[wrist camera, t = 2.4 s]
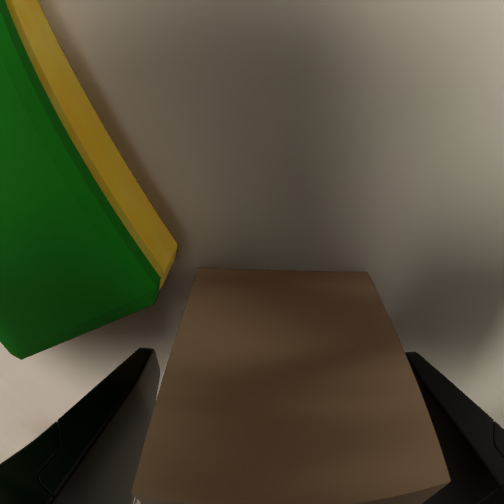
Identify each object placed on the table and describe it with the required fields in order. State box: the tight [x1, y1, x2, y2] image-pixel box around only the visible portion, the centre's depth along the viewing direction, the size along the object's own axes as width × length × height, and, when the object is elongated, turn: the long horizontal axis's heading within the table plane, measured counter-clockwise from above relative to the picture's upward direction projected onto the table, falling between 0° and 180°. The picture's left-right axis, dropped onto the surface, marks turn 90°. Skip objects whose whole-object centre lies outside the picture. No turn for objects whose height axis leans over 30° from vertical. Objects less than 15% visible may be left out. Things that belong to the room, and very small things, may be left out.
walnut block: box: [131, 268, 451, 504], centre depth 7 cm, size 4×4×6 cm
